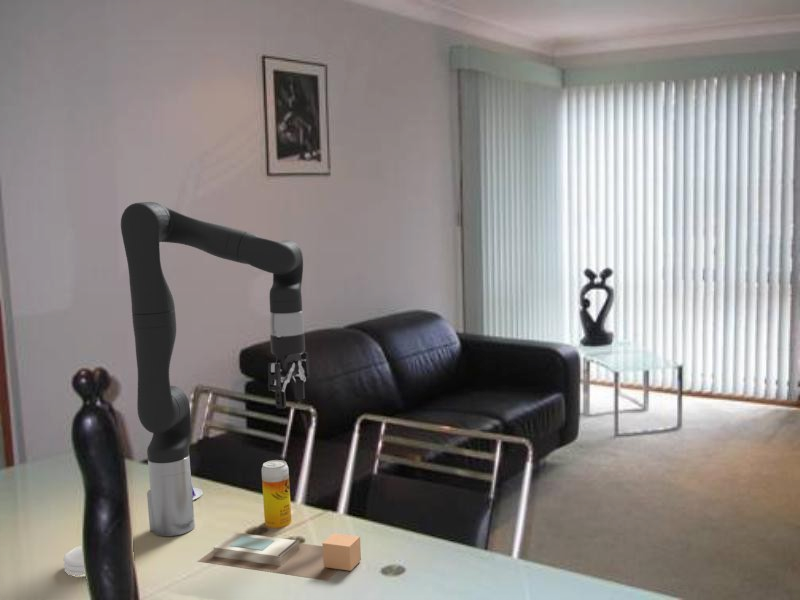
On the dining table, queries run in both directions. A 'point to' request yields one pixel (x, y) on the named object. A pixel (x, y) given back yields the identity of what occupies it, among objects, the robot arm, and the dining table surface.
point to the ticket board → (291, 567)
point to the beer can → (276, 494)
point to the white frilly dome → (74, 562)
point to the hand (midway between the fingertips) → (290, 403)
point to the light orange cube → (341, 551)
